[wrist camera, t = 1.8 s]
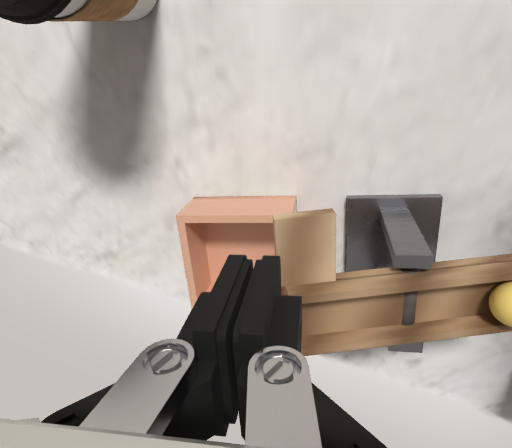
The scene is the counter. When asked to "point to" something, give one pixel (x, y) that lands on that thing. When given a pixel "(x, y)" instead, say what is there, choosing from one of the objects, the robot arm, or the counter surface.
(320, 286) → the lever
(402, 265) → the pivot stand
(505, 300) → the ball
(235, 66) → the counter surface
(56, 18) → the coffee cup
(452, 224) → the counter surface
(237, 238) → the pink open box
